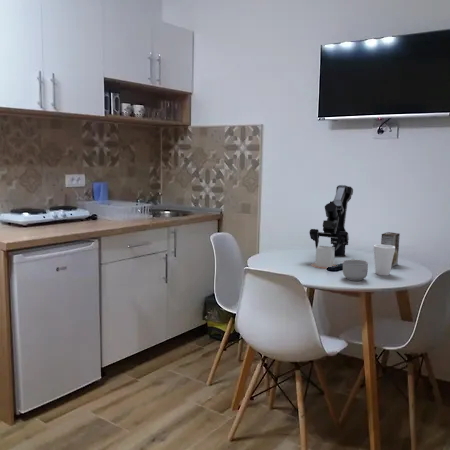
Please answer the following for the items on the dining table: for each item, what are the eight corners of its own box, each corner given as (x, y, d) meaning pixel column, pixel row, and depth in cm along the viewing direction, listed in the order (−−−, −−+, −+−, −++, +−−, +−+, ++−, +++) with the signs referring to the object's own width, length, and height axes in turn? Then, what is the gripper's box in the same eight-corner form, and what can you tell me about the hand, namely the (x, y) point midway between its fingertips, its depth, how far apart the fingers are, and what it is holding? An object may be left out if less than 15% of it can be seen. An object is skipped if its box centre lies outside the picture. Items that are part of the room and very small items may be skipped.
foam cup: (379, 276, 208) (381, 248, 207) (367, 271, 217) (369, 244, 215) (397, 275, 211) (399, 247, 209) (385, 270, 220) (387, 244, 218)
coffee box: (385, 262, 240) (387, 231, 237) (397, 264, 236) (400, 233, 233) (378, 265, 233) (381, 233, 230) (391, 267, 228) (394, 235, 226)
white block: (318, 263, 230) (319, 245, 229) (333, 265, 227) (334, 247, 226) (315, 266, 223) (316, 248, 222) (330, 268, 220) (331, 249, 219)
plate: (334, 264, 232) (334, 263, 232) (341, 270, 219) (341, 269, 219) (308, 263, 232) (308, 262, 232) (314, 269, 219) (314, 268, 219)
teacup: (366, 283, 196) (367, 265, 195) (340, 280, 199) (341, 262, 198) (367, 276, 209) (368, 258, 208) (343, 273, 212) (344, 256, 211)
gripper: (311, 212, 230) (304, 237, 222) (349, 215, 223) (343, 241, 214) (314, 226, 239) (307, 250, 230) (351, 229, 231) (345, 254, 222)
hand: (325, 249), depth 224 cm, fingers open, 9 cm apart
